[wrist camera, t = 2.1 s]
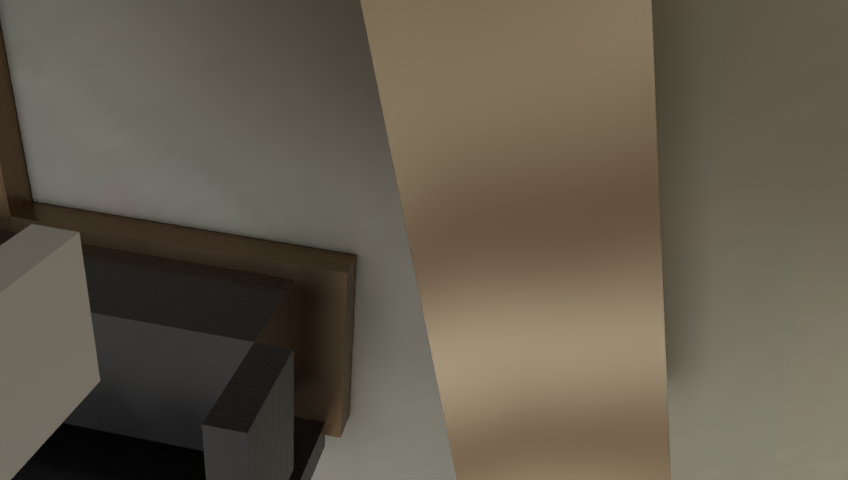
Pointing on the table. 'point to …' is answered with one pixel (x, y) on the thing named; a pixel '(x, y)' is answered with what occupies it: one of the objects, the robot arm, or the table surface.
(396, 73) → the rail
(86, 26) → the table surface
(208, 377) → the brackets
